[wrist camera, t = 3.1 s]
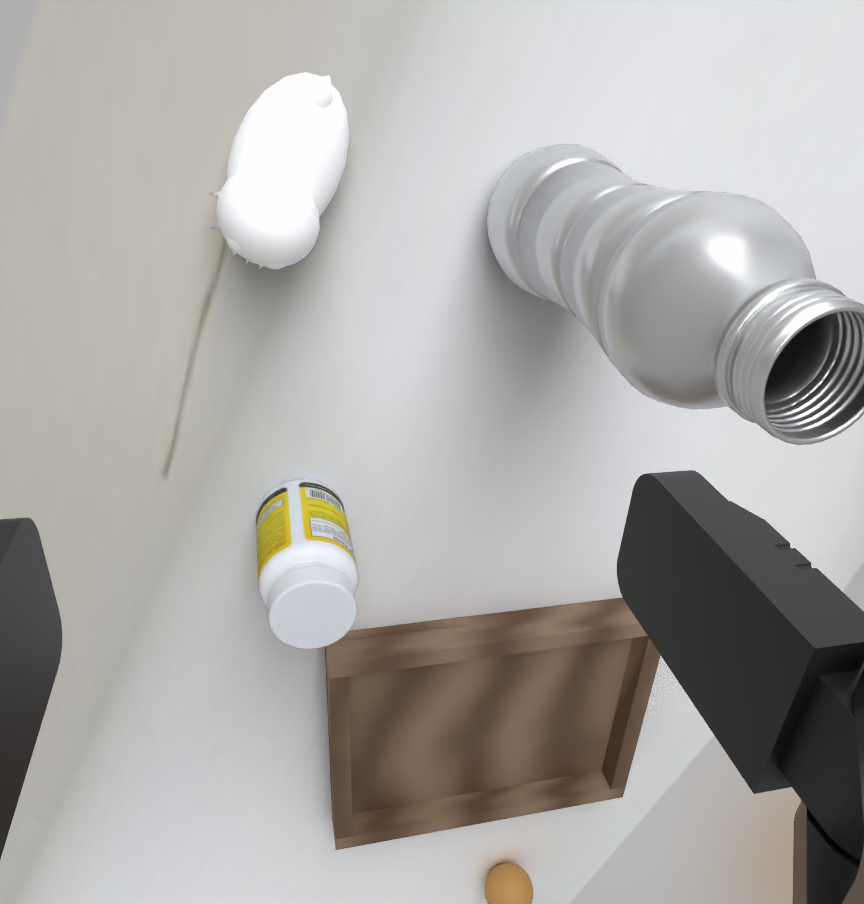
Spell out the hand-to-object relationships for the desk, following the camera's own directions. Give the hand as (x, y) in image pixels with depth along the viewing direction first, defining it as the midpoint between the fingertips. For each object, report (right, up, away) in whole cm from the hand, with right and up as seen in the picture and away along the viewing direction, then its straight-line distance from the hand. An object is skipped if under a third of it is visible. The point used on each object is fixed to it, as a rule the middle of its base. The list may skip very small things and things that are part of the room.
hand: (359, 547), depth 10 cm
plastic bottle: (+6, +13, +25) cm, 28 cm away
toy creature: (-5, +14, +21) cm, 26 cm away
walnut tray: (+5, -17, +41) cm, 45 cm away
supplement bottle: (-6, -2, +30) cm, 31 cm away
